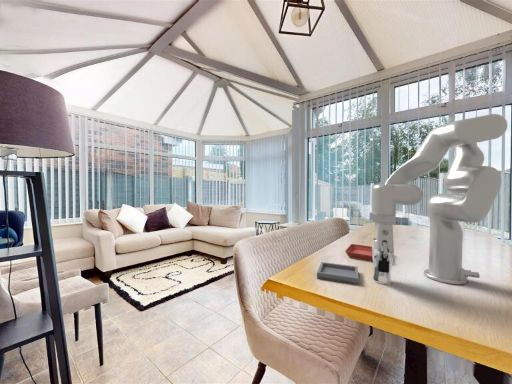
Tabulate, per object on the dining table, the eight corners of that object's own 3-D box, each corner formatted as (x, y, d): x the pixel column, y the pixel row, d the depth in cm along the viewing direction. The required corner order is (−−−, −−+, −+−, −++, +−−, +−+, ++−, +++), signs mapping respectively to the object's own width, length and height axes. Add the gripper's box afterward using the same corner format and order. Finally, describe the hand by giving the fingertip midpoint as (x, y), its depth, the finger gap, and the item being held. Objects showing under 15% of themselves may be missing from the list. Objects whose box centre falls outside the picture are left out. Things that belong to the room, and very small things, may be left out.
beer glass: (387, 277, 86) (388, 237, 85) (397, 285, 79) (398, 242, 78) (368, 276, 86) (369, 237, 86) (376, 284, 80) (376, 241, 79)
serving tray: (357, 272, 91) (357, 266, 91) (358, 284, 79) (358, 278, 79) (321, 267, 97) (321, 261, 97) (316, 278, 85) (316, 272, 85)
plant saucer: (389, 255, 116) (389, 248, 116) (387, 265, 101) (387, 257, 101) (351, 249, 126) (351, 243, 126) (344, 258, 110) (344, 251, 110)
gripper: (400, 223, 73) (398, 279, 73) (391, 216, 89) (390, 262, 89) (373, 221, 76) (372, 275, 76) (370, 215, 92) (369, 260, 92)
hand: (382, 268), depth 83 cm, fingers closed on beer glass, 6 cm apart
